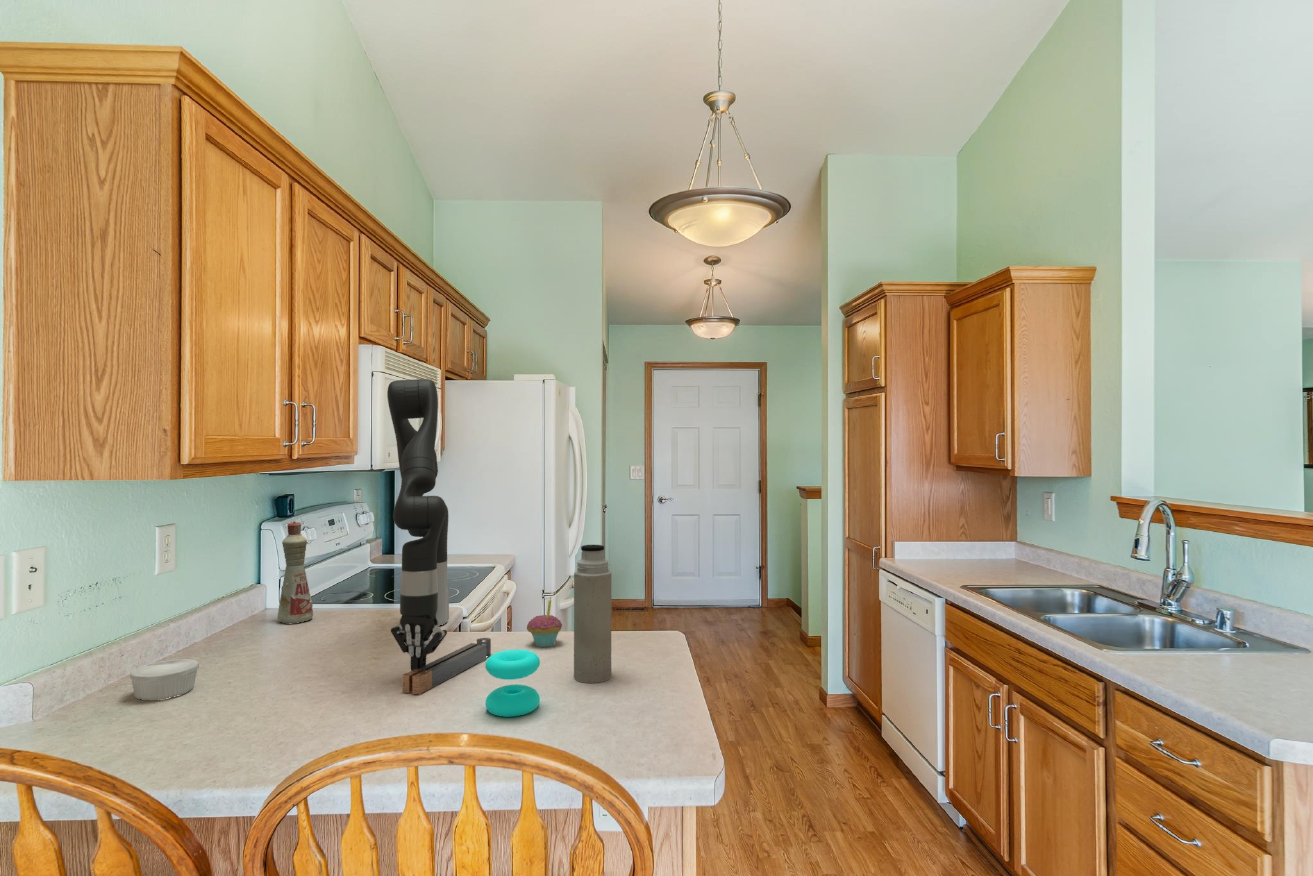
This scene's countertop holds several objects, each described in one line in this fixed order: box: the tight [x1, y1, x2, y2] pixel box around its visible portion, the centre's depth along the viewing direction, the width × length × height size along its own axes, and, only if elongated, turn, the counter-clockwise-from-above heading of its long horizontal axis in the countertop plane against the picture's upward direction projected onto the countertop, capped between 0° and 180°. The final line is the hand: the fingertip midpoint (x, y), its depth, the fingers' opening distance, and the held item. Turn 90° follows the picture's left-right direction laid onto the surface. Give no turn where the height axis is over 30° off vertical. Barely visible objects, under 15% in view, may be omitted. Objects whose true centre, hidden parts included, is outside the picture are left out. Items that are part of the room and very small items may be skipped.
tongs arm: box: [402, 642, 477, 694], centre depth 149 cm, size 24×2×3 cm, turn 161°
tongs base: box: [411, 637, 492, 695], centre depth 150 cm, size 28×4×4 cm, turn 161°
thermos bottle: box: [573, 544, 612, 684], centre depth 147 cm, size 8×8×28 cm
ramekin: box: [129, 658, 200, 700], centre depth 138 cm, size 11×11×5 cm
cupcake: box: [526, 596, 563, 648], centre depth 171 cm, size 9×8×12 cm
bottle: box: [277, 520, 314, 624], centre depth 194 cm, size 9×9×28 cm
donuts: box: [485, 649, 541, 718], centre depth 130 cm, size 10×10×10 cm
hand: (418, 673), depth 145 cm, fingers closed
